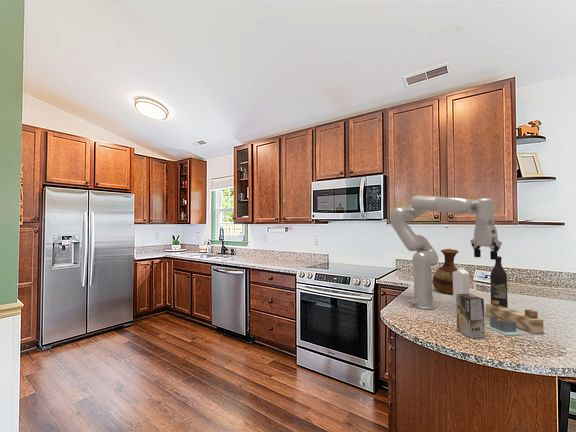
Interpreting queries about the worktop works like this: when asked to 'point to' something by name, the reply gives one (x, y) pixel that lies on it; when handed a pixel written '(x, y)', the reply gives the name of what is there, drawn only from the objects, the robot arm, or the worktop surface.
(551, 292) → the worktop surface
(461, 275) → the milk
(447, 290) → the brown ceramic vase
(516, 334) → the mat
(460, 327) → the coffee box
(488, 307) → the body
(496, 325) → the lever cap
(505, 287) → the wine bottle
